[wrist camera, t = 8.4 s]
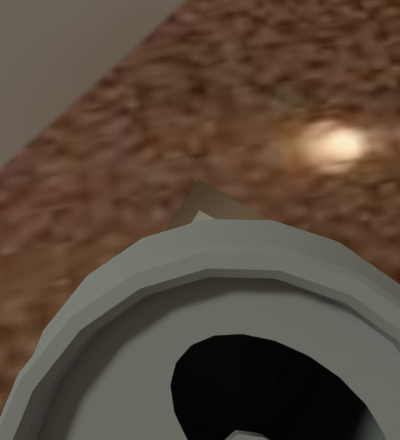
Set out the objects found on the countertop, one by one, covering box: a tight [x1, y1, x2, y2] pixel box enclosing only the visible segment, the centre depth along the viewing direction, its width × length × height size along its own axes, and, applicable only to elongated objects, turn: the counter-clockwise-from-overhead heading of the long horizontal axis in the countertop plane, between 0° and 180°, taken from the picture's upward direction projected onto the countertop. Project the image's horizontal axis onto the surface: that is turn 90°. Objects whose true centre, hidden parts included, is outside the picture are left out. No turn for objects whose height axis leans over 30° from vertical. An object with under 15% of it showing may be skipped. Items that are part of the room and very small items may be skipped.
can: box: [0, 219, 400, 440], centre depth 9 cm, size 8×8×12 cm
